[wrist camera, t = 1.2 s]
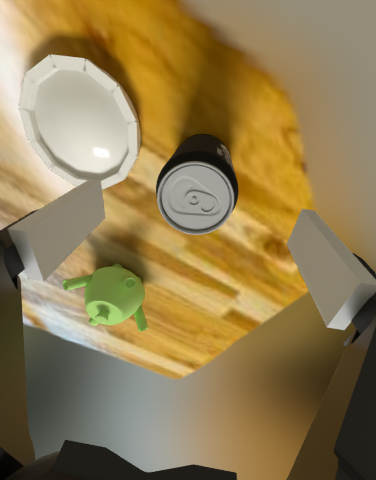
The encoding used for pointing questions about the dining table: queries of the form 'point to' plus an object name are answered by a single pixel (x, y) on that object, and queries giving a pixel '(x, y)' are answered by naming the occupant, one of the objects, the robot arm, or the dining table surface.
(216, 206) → the beverage can
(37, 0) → the dining table surface
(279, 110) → the dining table surface
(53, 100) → the saucer
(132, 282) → the green rounded body
